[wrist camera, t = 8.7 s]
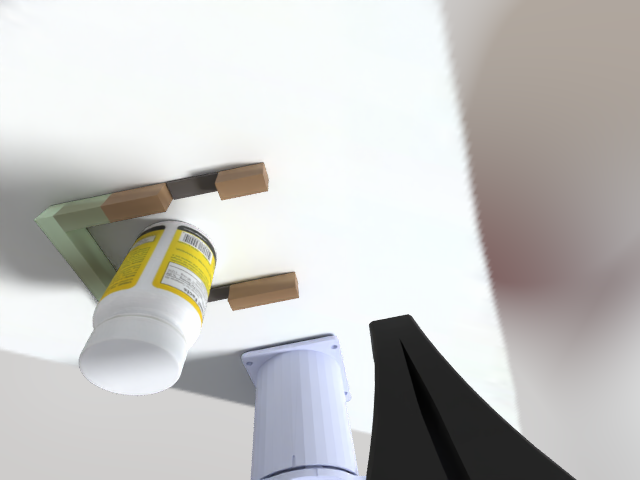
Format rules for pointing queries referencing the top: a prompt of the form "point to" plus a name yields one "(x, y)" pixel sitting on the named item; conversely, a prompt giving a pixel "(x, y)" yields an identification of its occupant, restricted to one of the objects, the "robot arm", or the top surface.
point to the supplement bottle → (151, 311)
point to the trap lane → (74, 217)
